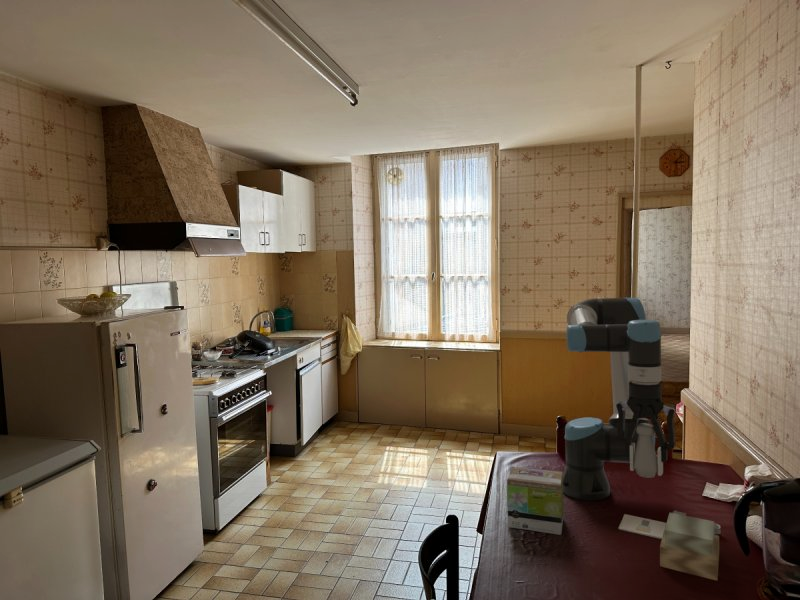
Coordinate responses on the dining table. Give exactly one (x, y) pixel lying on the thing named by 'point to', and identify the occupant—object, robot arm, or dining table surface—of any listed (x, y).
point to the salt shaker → (645, 451)
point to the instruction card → (642, 526)
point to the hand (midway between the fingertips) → (646, 471)
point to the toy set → (716, 526)
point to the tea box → (535, 500)
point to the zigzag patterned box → (690, 546)
